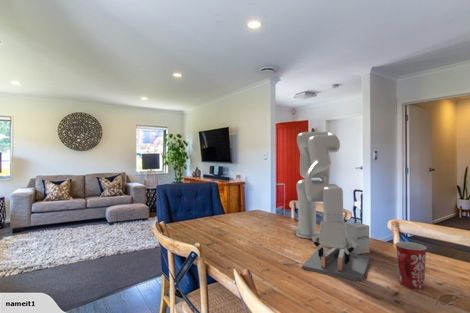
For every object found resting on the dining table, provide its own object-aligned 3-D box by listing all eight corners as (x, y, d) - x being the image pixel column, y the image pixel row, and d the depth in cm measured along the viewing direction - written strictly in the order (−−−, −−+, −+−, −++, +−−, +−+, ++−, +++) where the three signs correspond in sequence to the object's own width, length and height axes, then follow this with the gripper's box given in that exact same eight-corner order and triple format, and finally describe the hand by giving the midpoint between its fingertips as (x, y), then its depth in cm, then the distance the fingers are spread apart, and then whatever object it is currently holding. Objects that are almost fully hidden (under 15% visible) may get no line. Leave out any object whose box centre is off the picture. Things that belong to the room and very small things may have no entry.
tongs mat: (301, 268, 108) (301, 265, 108) (318, 250, 128) (318, 247, 128) (362, 281, 96) (362, 278, 96) (370, 259, 116) (370, 256, 116)
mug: (403, 276, 100) (402, 239, 100) (431, 285, 93) (431, 246, 93) (385, 285, 93) (385, 246, 93) (415, 296, 86) (414, 254, 86)
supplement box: (356, 255, 122) (356, 227, 122) (345, 249, 129) (345, 223, 129) (370, 253, 124) (369, 225, 124) (358, 247, 131) (358, 221, 131)
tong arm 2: (337, 270, 102) (337, 260, 102) (341, 254, 118) (341, 245, 118) (342, 271, 101) (342, 260, 101) (345, 255, 118) (345, 246, 118)
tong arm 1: (320, 267, 106) (320, 256, 106) (336, 253, 120) (336, 244, 120) (324, 268, 105) (324, 257, 105) (340, 254, 119) (340, 245, 119)
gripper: (308, 217, 109) (309, 259, 109) (355, 222, 99) (355, 268, 99) (314, 213, 115) (314, 253, 115) (358, 218, 106) (359, 261, 106)
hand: (333, 260), depth 107 cm, fingers open, 9 cm apart
